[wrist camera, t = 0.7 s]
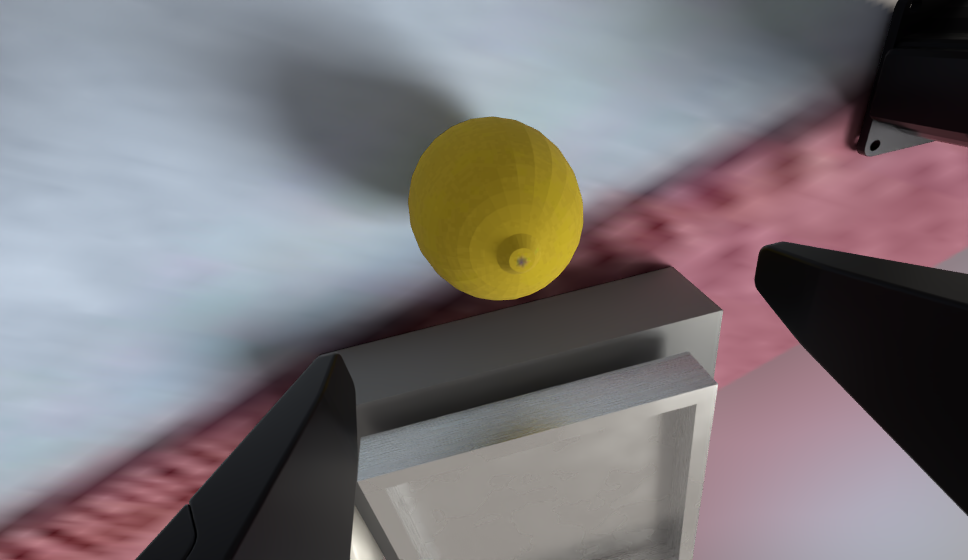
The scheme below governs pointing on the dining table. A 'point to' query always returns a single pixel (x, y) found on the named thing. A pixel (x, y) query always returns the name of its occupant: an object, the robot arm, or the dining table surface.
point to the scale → (521, 359)
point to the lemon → (495, 208)
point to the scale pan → (552, 471)
